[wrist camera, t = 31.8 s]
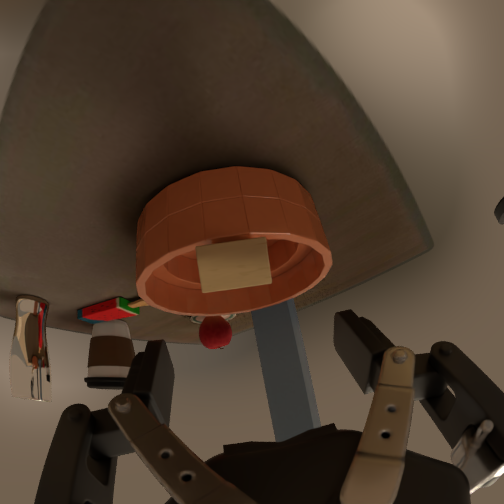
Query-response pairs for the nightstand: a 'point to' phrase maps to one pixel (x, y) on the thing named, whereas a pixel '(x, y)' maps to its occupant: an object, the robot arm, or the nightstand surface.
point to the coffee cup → (109, 355)
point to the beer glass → (30, 351)
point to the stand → (285, 370)
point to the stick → (233, 264)
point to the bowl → (228, 239)
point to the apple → (214, 330)
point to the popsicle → (110, 310)
